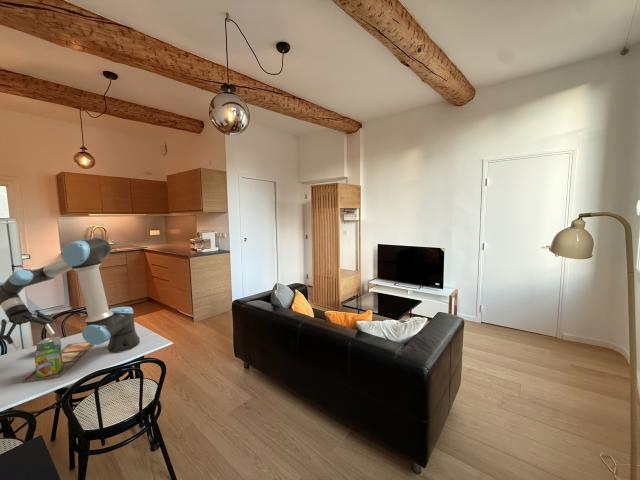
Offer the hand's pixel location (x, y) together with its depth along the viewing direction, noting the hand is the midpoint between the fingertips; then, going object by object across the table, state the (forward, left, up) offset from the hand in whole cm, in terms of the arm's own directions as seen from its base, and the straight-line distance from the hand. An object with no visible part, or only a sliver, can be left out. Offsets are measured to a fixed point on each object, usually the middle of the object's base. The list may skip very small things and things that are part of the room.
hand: (36, 341), depth 137 cm
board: (-5, -8, -15) cm, 17 cm away
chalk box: (-8, +2, -15) cm, 17 cm away
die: (+11, -14, -15) cm, 23 cm away
